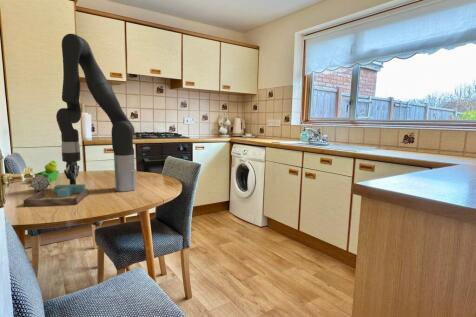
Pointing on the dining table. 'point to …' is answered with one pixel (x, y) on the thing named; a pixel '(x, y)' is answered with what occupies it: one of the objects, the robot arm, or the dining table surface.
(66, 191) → the teal T block
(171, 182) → the dining table surface
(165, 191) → the dining table surface
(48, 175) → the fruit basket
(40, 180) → the game die
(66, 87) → the robot arm
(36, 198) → the walnut bay
